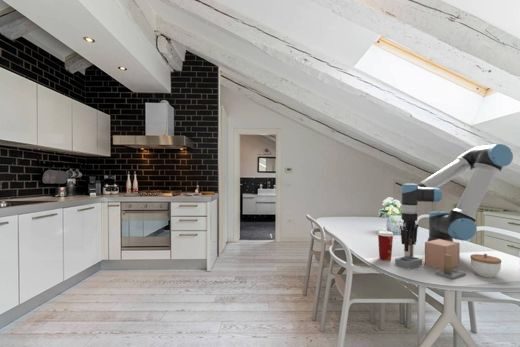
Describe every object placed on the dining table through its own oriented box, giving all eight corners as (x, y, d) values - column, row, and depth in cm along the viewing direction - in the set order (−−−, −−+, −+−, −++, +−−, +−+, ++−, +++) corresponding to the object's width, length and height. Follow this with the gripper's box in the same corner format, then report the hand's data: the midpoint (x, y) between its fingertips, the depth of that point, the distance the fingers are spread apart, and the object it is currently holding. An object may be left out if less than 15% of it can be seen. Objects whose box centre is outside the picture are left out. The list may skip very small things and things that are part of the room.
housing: (439, 260, 146) (439, 239, 146) (459, 265, 138) (459, 242, 138) (424, 264, 139) (424, 242, 139) (445, 270, 131) (445, 246, 131)
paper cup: (395, 261, 143) (395, 234, 143) (378, 260, 145) (379, 233, 144) (391, 257, 151) (391, 231, 151) (375, 256, 152) (376, 230, 152)
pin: (407, 256, 152) (408, 238, 152) (412, 258, 150) (413, 239, 150) (404, 257, 150) (405, 238, 150) (409, 258, 148) (410, 239, 148)
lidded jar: (507, 280, 119) (507, 258, 119) (478, 278, 121) (479, 256, 121) (491, 271, 130) (491, 251, 130) (465, 270, 131) (465, 250, 131)
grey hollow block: (408, 261, 144) (408, 255, 144) (421, 265, 138) (422, 259, 138) (395, 264, 138) (395, 258, 138) (408, 269, 132) (408, 262, 132)
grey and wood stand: (448, 270, 131) (448, 250, 131) (465, 274, 125) (465, 254, 125) (435, 274, 125) (436, 254, 125) (453, 279, 120) (453, 258, 119)
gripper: (410, 210, 157) (410, 253, 157) (394, 212, 149) (393, 257, 149) (424, 212, 151) (424, 256, 151) (407, 214, 143) (407, 260, 143)
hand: (408, 256), depth 150 cm, fingers closed on pin, 2 cm apart
